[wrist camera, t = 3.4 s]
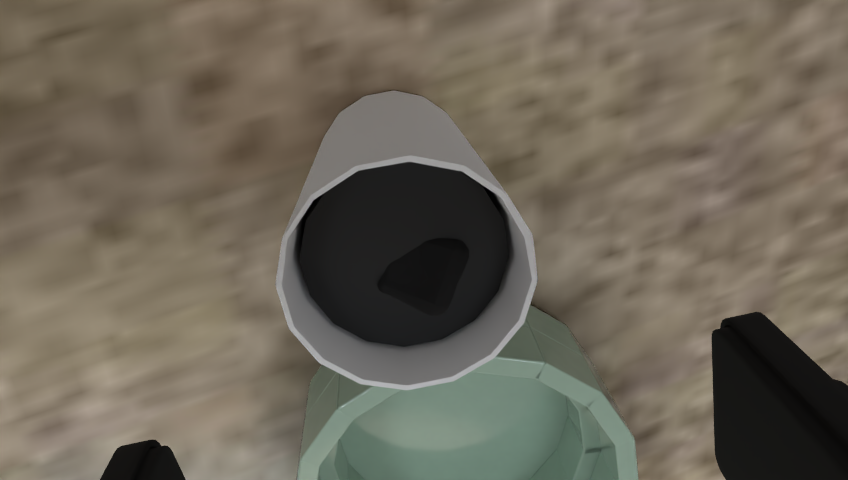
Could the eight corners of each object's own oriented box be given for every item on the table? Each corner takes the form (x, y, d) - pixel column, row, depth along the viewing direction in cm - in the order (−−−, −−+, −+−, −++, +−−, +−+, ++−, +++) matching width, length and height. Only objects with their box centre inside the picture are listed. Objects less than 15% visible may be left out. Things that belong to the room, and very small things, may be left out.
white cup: (506, 119, 25) (585, 214, 16) (435, 263, 28) (470, 418, 18) (344, 49, 24) (331, 111, 15) (283, 208, 26) (240, 347, 17)
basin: (268, 323, 28) (247, 404, 23) (577, 254, 28) (624, 320, 23) (347, 544, 34) (344, 647, 29) (606, 487, 34) (648, 581, 29)
